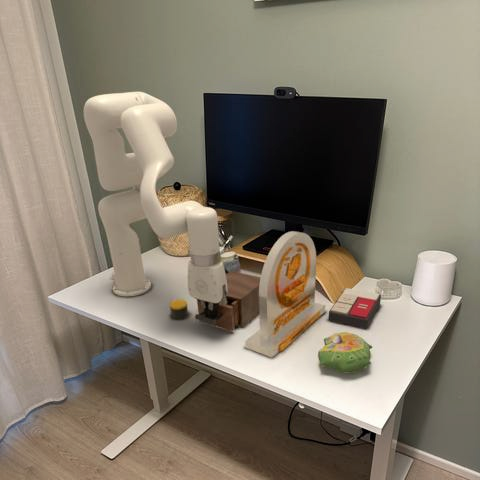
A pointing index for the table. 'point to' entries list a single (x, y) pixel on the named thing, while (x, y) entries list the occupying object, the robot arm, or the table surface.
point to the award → (286, 294)
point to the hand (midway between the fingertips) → (211, 319)
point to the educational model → (345, 353)
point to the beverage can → (230, 262)
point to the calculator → (355, 308)
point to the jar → (179, 309)
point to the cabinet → (244, 294)
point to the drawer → (221, 315)
